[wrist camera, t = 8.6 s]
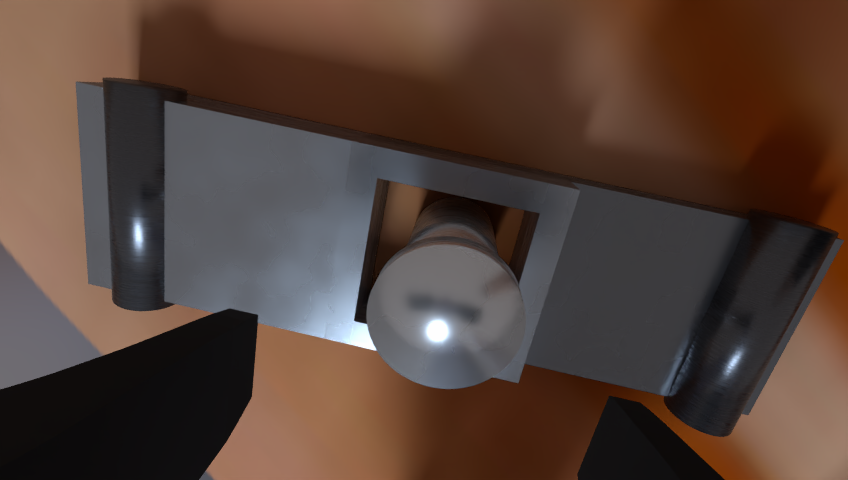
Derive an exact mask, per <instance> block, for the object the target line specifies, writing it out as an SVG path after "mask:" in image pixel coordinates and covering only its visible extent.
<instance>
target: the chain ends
mask: <svg viewBox="0 0 848 480" xmlns="http://www.w3.org/2000/svg"><path fill="white" fill-rule="evenodd" d="M76 93H77V109H78V125H79V141H80V157H81V173H82V189H83V205H84V221H85V237H86V253H87V269H88V284H92V285H96V286H101V287H105V288H109V289H112V300H113V302H114V304H116V305H117V306H119V307H121V308H124V309H127V310H133V311H152V310H159V309H163V308H167V307H170V306H172V305H174V304H178V305H183V306H187V307H191V308H196V309H200V310H204V311H209V312H213V313H217V312H219V311H223V310H226V309H229V308H231V309H235V310H239V311H244V312H248V313H253V314H257V315H258V323H260V324H265V325H269V326H273V327H278V328H282V329H286V330H291V331H295V332H299V333H303V334H308V335H312V336H316V337H321V338H325V339H329V340H334V341H338V342H342V343H347V344H351V345H355V346H360V347H364V348H368V349H373V350H376V348H375V346H374V345H373V342H372V340H371V338H370V335H369V331H368V327H367V319H366V317H367V304H368V299H369V296H370V293H371V290H372V289H371V283H372V277H373V271H374V266H375V260H376V254H377V248H378V242H379V237H380V231H381V225H382V219H383V214H384V208H385V202H386V196H387V190H388V185H389V181H393V182H398V183H402V184H407V185H412V186H416V187H421V188H425V189H430V190H435V191H439V192H444V193H448V194H453V195H458V196H462V197H467V198H471V199H476V200H481V201H485V202H490V203H494V204H499V205H504V206H508V207H513V208H517V209H522V210H525V212H524V216H523V219H522V223H521V226H520V230H519V233H518V237H517V240H516V244H515V247H514V251H513V254H512V258H511V261H510V265H509V268H510V269H511V271H512V272H513V274H514V275H515V278H516V280H517V282H518V284H519V288H520V291H521V294H522V298H523V302H524V306H525V312H526V328H525V334H524V338H523V341H522V344H521V346H520V348H519V350H518V352H517V354H516V355H515V357H514V358H513V360H512V361H511V362H510V363H509V364H508V365H507V366H506V367H505V368H504V369H503V370H502V371H501V372H500V373H498V374H497V375H495V376H494V377H493V378H498V379H502V380H506V381H511V382H515V383H519V380H520V376H521V373H522V370H523V367H524V364H528V365H532V366H537V367H541V368H545V369H550V370H554V371H558V372H563V373H567V374H571V375H576V376H580V377H584V378H589V379H593V380H597V381H602V382H606V383H610V384H615V385H619V386H624V387H628V388H632V389H637V390H641V391H645V392H650V393H654V394H658V395H663V396H664V402H665V405H666V406H667V408H668V409H669V410H670V411H671V412H672V413H673V414H674V415H675V416H676V417H677V418H678V419H680V420H681V421H682V422H684V423H685V424H687V425H689V426H690V427H692V428H694V429H696V430H698V431H701V432H703V433H706V434H709V435H713V436H719V437H724V436H728V435H730V434H731V432H732V430H733V429H734V427H735V425H736V423H737V421H738V419H739V417H740V416H741V414H745V415H749V413H750V411H751V409H752V407H753V406H754V404H755V402H756V400H757V398H758V397H759V395H760V393H761V391H762V389H763V387H764V386H765V384H766V382H767V380H768V378H769V376H770V375H771V373H772V371H773V369H774V367H775V365H776V364H777V362H778V360H779V358H780V356H781V354H782V353H783V351H784V349H785V347H786V345H787V343H788V342H789V340H790V338H791V336H792V334H793V333H794V331H795V329H796V327H797V325H798V323H799V322H800V320H801V318H802V316H803V314H804V312H805V311H806V309H807V307H808V305H809V303H810V301H811V300H812V298H813V296H814V294H815V292H816V290H817V289H818V287H819V285H820V283H821V281H822V279H823V278H824V276H825V274H826V272H827V270H828V269H829V267H830V265H831V263H832V261H833V259H834V258H835V256H836V254H837V252H838V250H839V248H840V247H841V245H842V243H843V241H844V240H842V239H839V238H837V236H838V234H839V233H838V232H836V231H834V230H831V229H829V228H826V227H823V226H820V225H817V224H814V223H810V222H807V221H804V220H800V219H797V218H793V217H789V216H785V215H781V214H777V213H773V212H768V211H763V210H757V209H750V211H749V213H748V214H744V213H739V212H734V211H730V210H725V209H720V208H716V207H711V206H706V205H702V204H697V203H692V202H688V201H683V200H678V199H674V198H669V197H664V196H660V195H655V194H650V193H646V192H641V191H636V190H632V189H627V188H622V187H618V186H613V185H608V184H604V183H599V182H594V181H589V180H585V179H580V178H575V177H571V176H566V175H561V174H557V173H552V172H547V171H543V170H538V169H533V168H529V167H524V166H519V165H515V164H510V163H505V162H501V161H496V160H491V159H487V158H482V157H477V156H473V155H468V154H463V153H459V152H454V151H449V150H445V149H440V148H435V147H431V146H426V145H421V144H417V143H412V142H407V141H403V140H398V139H393V138H389V137H384V136H379V135H375V134H370V133H365V132H361V131H356V130H351V129H347V128H342V127H337V126H333V125H328V124H323V123H319V122H314V121H309V120H305V119H300V118H295V117H291V116H286V115H281V114H277V113H272V112H267V111H263V110H258V109H253V108H249V107H244V106H239V105H235V104H230V103H225V102H221V101H216V100H211V99H206V98H202V97H197V96H192V95H188V94H187V90H184V89H181V88H178V87H174V86H169V85H164V84H159V83H153V82H147V81H140V80H132V79H123V78H103V83H102V82H76Z"/></svg>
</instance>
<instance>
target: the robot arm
mask: <svg viewBox="0 0 848 480" xmlns="http://www.w3.org/2000/svg"><path fill="white" fill-rule="evenodd" d="M257 326H258V315H257V314H253V313H248V312H244V311H239V310H235V309H231V308H229V309H226V310H223V311H219V312H217V313H214V314H211V315H208V316H206V317H203V318H200V319H198V320H195V321H193V322H190V323H188V324H185V325H183V326H180V327H178V328H175V329H173V330H170V331H167V332H165V333H162V334H160V335H157V336H155V337H152V338H149V339H147V340H144V341H142V342H139V343H137V344H134V345H131V346H129V347H126V348H124V349H121V350H118V351H115V352H112V353H109V354H107V355H104V356H101V357H98V358H95V359H92V360H90V361H87V362H84V363H81V364H79V365H75V366H73V367H70V368H67V369H64V370H62V371H58V372H56V373H53V374H50V375H46V376H43V377H40V378H37V379H34V380H31V381H27V382H24V383H21V384H18V385H14V386H11V387H8V388H4V389H0V480H199V479H200V478H201V476H202V475H203V473H204V472H205V471H206V469H207V468H208V467H209V465H210V464H211V462H212V461H213V460H214V458H215V457H216V456H217V454H218V453H219V451H220V450H221V449H222V447H223V446H224V444H225V443H226V442H227V440H228V438H229V436H230V435H231V433H232V431H233V430H234V428H235V426H236V424H237V423H238V421H239V419H240V417H241V416H242V414H243V412H244V410H245V408H246V406H247V405H248V403H249V401H250V399H251V397H252V388H253V376H254V363H255V351H256V338H257ZM578 480H724V479H723V478H722V477H721V476H720V475H719V474H718V473H717V472H716V471H715V470H714V469H713V468H712V467H711V466H709V465H708V464H707V463H706V462H705V461H704V460H703V459H702V458H701V457H700V456H699V455H698V454H697V453H696V452H695V451H694V450H692V449H691V448H690V447H689V446H688V445H687V444H686V443H685V442H684V441H683V440H682V439H681V438H680V437H679V436H678V435H677V434H675V433H674V432H673V431H672V430H671V429H670V428H669V427H668V426H667V425H666V424H665V423H664V422H662V421H661V420H660V419H659V418H658V417H657V416H656V415H655V414H653V413H652V412H651V411H650V410H649V409H647V408H646V407H645V406H644V405H642V404H641V403H639V402H635V401H630V400H626V399H622V398H617V397H613V396H609V398H608V400H607V403H606V405H605V408H604V410H603V413H602V415H601V418H600V420H599V422H598V425H597V427H596V430H595V432H594V435H593V437H592V440H591V442H590V445H589V447H588V449H587V452H586V454H585V457H584V459H583V462H582V464H581V467H580V469H579V472H578Z"/></svg>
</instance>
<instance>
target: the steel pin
mask: <svg viewBox="0 0 848 480" xmlns="http://www.w3.org/2000/svg"><path fill="white" fill-rule="evenodd" d="M366 319H367V327H368V331H369V335H370V338H371V340H372V342H373V345H374V346H375V348H376V350H377V352H378V353H379V355H380V356H381V357H382V358H383V360H384V361H385V362H386V363H387V364H388V365H389V366H390V367H391V368H392V369H394V370H395V371H396V372H398V373H399V374H401V375H402V376H404V377H405V378H407V379H409V380H411V381H414V382H416V383H419V384H422V385H424V386H429V387H433V388H441V389H457V388H465V387H469V386H474V385H476V384H479V383H482V382H484V381H486V380H488V379H490V378H492V377H494V376H495V375H497V374H498V373H500V372H501V371H502V370H503V369H504V368H505V367H506V366H507V365H508V364H509V363H510V362H511V361H512V360H513V358H514V357H515V355H516V354H517V352H518V350H519V348H520V346H521V344H522V341H523V338H524V334H525V328H526V312H525V306H524V302H523V298H522V294H521V291H520V288H519V284H518V282H517V280H516V278H515V275H514V274H513V272H512V271H511V269H510V268H509V266H508V265H507V264H506V263H505V262H504V260H503V259H502V258H501V257H499V256H498V252H497V246H496V241H495V236H494V230H493V226H492V223H491V220H490V218H489V217H488V215H487V213H486V212H485V211H484V210H483V209H482V208H481V207H480V206H479V205H477V204H476V203H474V202H472V201H470V200H467V199H464V198H458V197H448V198H443V199H440V200H437V201H435V202H433V203H432V204H430V205H429V206H428V207H426V208H425V209H424V210H423V212H422V213H421V214H420V216H419V217H418V219H417V222H416V224H415V226H414V229H413V231H412V234H411V236H410V239H409V241H408V244H407V246H406V247H404V248H403V249H401V250H399V251H398V252H397V253H396V254H395V255H393V256H392V257H391V258H390V260H389V261H388V262H387V263H386V264H385V266H384V267H383V269H382V270H381V272H380V274H379V276H378V278H377V280H376V282H375V284H374V286H373V288H372V290H371V293H370V296H369V299H368V304H367V317H366Z"/></svg>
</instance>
